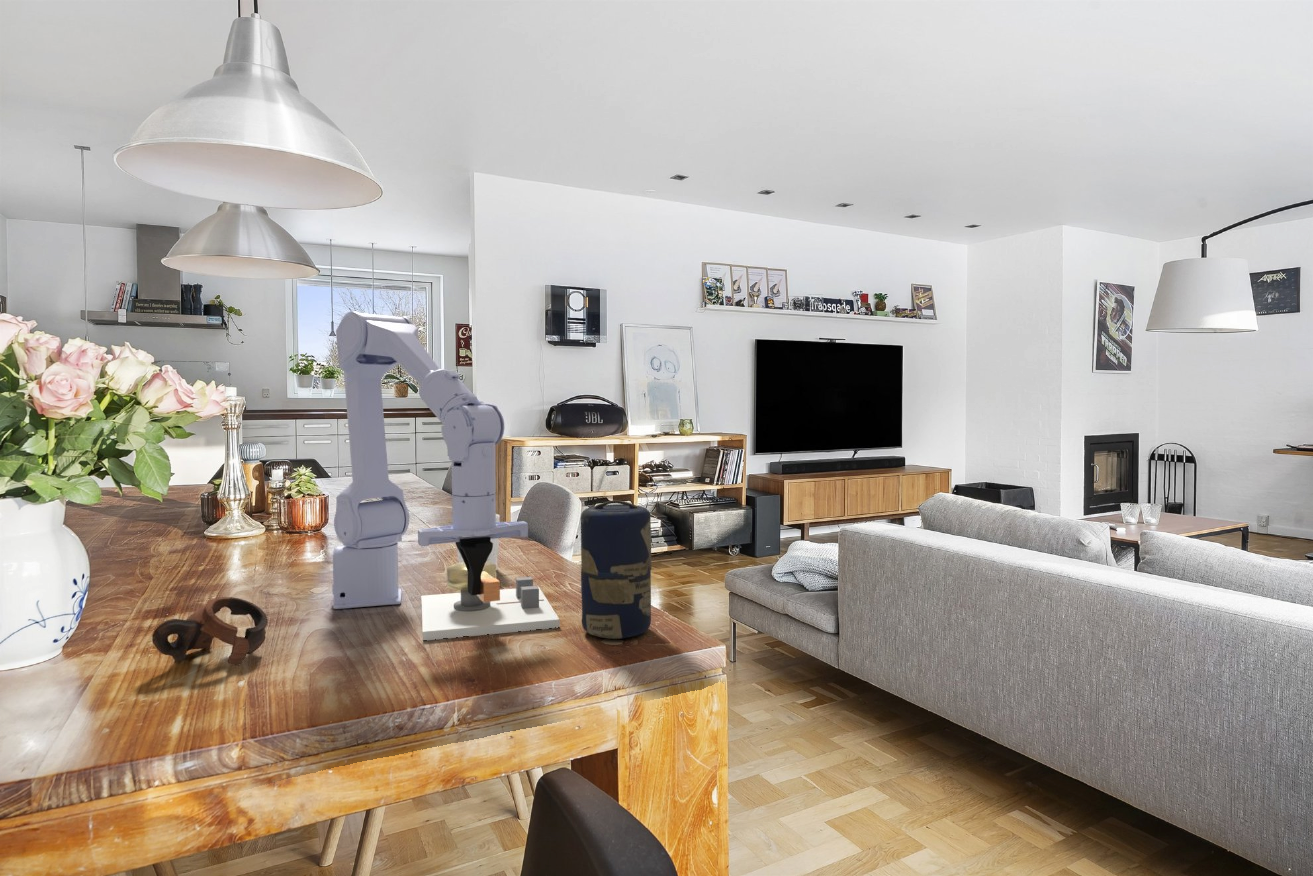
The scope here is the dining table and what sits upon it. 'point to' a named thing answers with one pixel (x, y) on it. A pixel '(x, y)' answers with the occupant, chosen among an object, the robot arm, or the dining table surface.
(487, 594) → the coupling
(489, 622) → the base
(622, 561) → the canister
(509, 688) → the dining table surface
